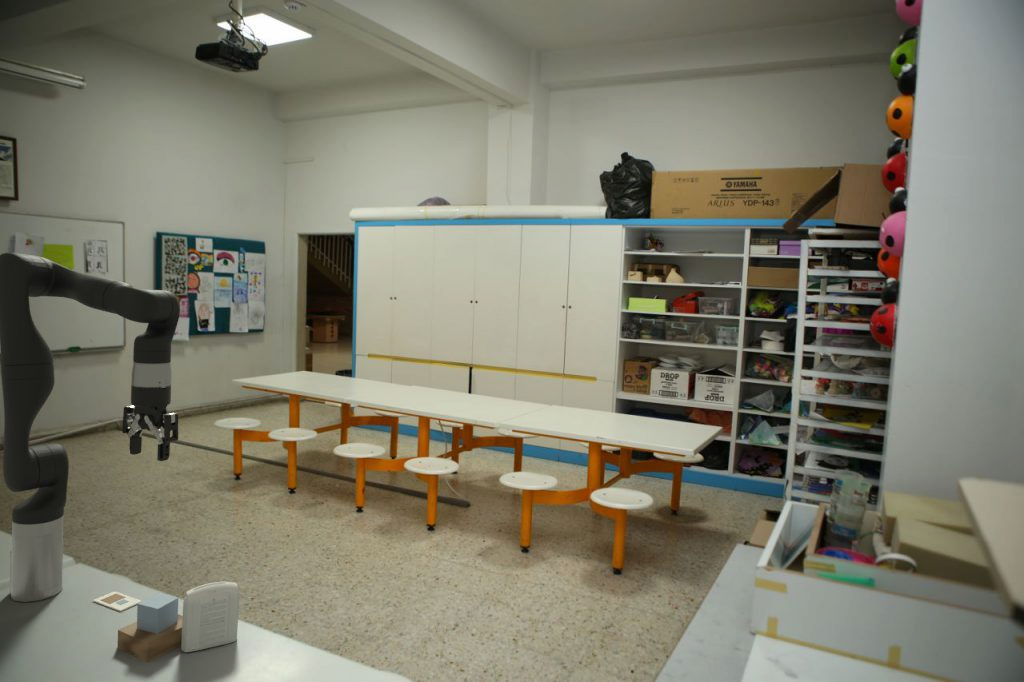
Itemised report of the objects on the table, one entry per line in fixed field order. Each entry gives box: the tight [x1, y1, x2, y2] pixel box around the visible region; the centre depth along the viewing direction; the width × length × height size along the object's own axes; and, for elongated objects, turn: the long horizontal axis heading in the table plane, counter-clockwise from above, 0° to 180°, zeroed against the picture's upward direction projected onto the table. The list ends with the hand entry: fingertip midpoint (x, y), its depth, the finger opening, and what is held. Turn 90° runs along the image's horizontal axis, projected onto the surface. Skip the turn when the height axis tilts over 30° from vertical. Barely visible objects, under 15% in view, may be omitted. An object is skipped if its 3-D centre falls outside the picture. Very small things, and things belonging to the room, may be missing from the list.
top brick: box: [136, 592, 179, 634], centre depth 127 cm, size 5×5×5 cm
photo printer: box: [180, 581, 240, 653], centre depth 128 cm, size 10×4×12 cm, turn 125°
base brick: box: [116, 613, 183, 663], centre depth 127 cm, size 9×10×4 cm
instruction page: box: [92, 590, 143, 613], centre depth 142 cm, size 9×5×1 cm, turn 67°
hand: (149, 457), depth 139 cm, fingers open, 8 cm apart
